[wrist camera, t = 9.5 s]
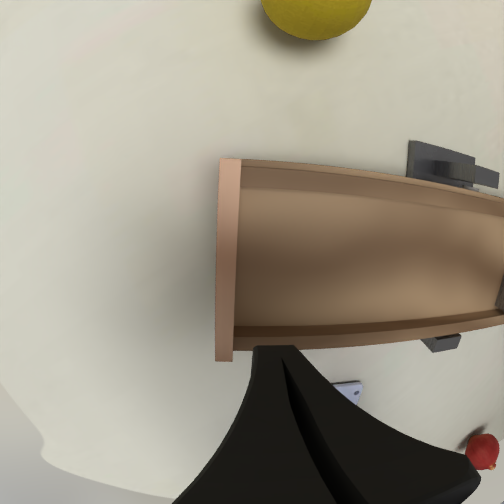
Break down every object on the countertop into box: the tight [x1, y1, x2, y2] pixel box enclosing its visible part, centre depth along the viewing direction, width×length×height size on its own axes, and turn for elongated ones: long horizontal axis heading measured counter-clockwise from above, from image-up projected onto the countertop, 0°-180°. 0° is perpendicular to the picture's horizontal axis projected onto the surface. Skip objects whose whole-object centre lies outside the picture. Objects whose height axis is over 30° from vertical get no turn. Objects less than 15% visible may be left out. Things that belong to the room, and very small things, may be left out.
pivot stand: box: [406, 141, 499, 353], centre depth 17 cm, size 14×6×5 cm, turn 177°
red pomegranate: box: [465, 434, 499, 470], centre depth 27 cm, size 6×6×8 cm
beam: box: [215, 158, 504, 362], centre depth 15 cm, size 9×26×3 cm, turn 87°
